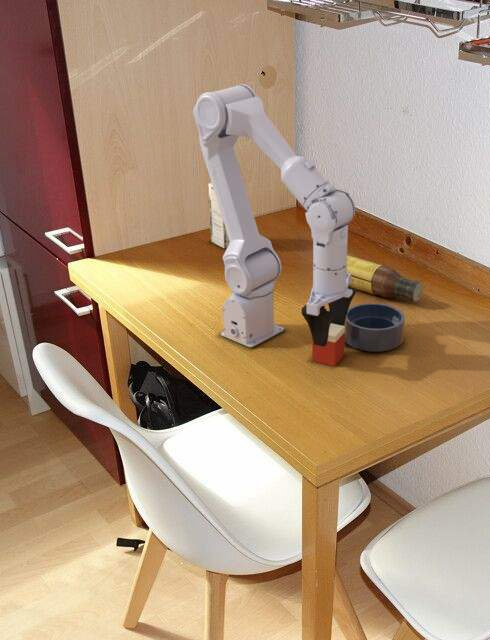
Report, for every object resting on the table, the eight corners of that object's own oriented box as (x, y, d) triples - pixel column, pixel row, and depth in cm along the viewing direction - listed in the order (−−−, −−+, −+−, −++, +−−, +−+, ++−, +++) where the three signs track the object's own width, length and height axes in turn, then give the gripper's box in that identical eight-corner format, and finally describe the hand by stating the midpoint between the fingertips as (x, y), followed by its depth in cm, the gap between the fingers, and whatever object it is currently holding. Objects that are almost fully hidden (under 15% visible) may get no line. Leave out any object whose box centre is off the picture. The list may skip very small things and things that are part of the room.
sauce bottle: (343, 280, 180) (421, 308, 171) (327, 282, 175) (406, 311, 166) (349, 251, 178) (429, 277, 168) (333, 252, 173) (414, 280, 163)
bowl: (379, 360, 149) (381, 336, 146) (331, 341, 155) (331, 317, 152) (414, 338, 157) (416, 314, 154) (366, 321, 162) (368, 297, 160)
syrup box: (231, 236, 199) (228, 177, 192) (245, 244, 196) (242, 183, 188) (210, 242, 196) (207, 181, 188) (224, 249, 192) (221, 188, 185)
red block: (334, 366, 147) (335, 336, 144) (312, 361, 148) (312, 331, 145) (344, 355, 150) (345, 326, 147) (322, 350, 152) (322, 321, 149)
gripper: (334, 284, 133) (333, 358, 140) (367, 253, 144) (364, 323, 151) (295, 276, 135) (295, 349, 142) (330, 246, 146) (329, 315, 154)
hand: (328, 335), depth 147 cm, fingers open, 7 cm apart
